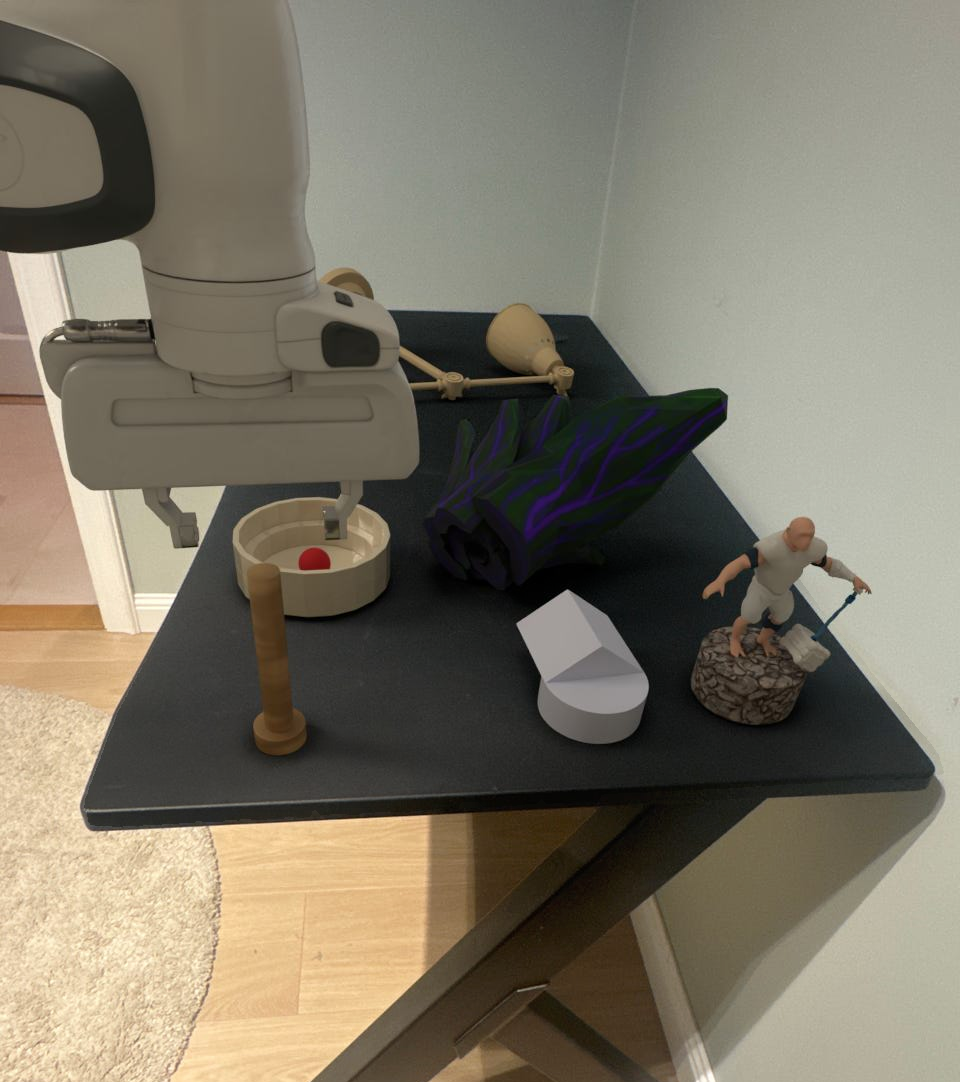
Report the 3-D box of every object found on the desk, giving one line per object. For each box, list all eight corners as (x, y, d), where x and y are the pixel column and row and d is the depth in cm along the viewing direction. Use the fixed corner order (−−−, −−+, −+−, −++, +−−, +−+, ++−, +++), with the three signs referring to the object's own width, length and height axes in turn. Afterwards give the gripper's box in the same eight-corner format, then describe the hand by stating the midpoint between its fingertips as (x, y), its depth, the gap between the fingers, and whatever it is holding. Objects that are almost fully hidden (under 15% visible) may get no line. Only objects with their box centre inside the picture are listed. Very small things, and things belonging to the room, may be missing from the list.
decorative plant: (433, 627, 91) (584, 492, 104) (604, 662, 71) (762, 490, 85) (348, 470, 81) (528, 344, 94) (520, 461, 61) (714, 303, 75)
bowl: (237, 627, 73) (230, 577, 69) (240, 545, 84) (234, 499, 81) (398, 616, 76) (399, 568, 73) (379, 539, 88) (379, 495, 85)
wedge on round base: (512, 652, 73) (556, 749, 63) (520, 592, 69) (568, 686, 59) (601, 644, 75) (657, 736, 65) (613, 585, 71) (675, 675, 61)
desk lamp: (289, 280, 124) (471, 393, 109) (441, 233, 143) (614, 323, 127) (295, 366, 135) (460, 478, 120) (435, 311, 154) (593, 403, 139)
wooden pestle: (254, 758, 60) (231, 589, 50) (255, 723, 63) (233, 557, 53) (308, 752, 61) (294, 585, 51) (305, 718, 64) (292, 554, 54)
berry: (300, 586, 78) (298, 558, 76) (298, 569, 80) (296, 542, 79) (332, 584, 79) (331, 557, 77) (330, 567, 81) (328, 541, 79)
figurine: (682, 731, 66) (741, 547, 55) (648, 667, 73) (695, 492, 62) (837, 722, 68) (923, 544, 58) (791, 660, 75) (859, 491, 64)
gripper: (15, 336, 38) (83, 575, 46) (427, 337, 42) (422, 555, 51) (42, 302, 43) (99, 524, 51) (409, 306, 47) (407, 510, 56)
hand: (262, 539), depth 51 cm, fingers open, 8 cm apart
